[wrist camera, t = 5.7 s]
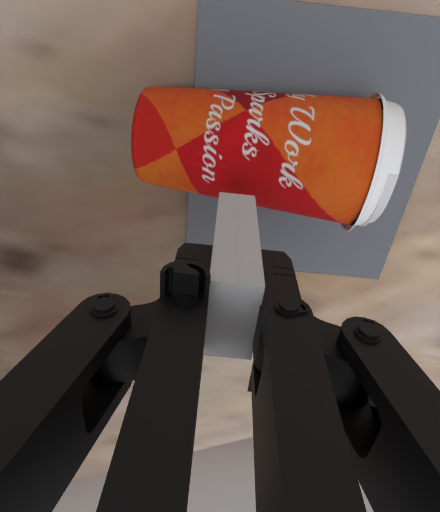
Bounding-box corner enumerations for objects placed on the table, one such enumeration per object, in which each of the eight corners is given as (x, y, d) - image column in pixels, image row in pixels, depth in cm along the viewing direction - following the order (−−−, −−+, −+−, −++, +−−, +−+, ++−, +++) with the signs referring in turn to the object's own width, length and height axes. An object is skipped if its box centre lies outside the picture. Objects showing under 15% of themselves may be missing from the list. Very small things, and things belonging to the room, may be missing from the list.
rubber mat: (185, 256, 30) (184, 260, 30) (199, -9, 21) (199, -10, 21) (376, 275, 31) (378, 279, 30) (471, 21, 22) (476, 21, 21)
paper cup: (149, 33, 20) (412, 61, 19) (170, 127, 27) (362, 152, 26) (110, 151, 18) (412, 193, 16) (145, 221, 25) (356, 253, 24)
